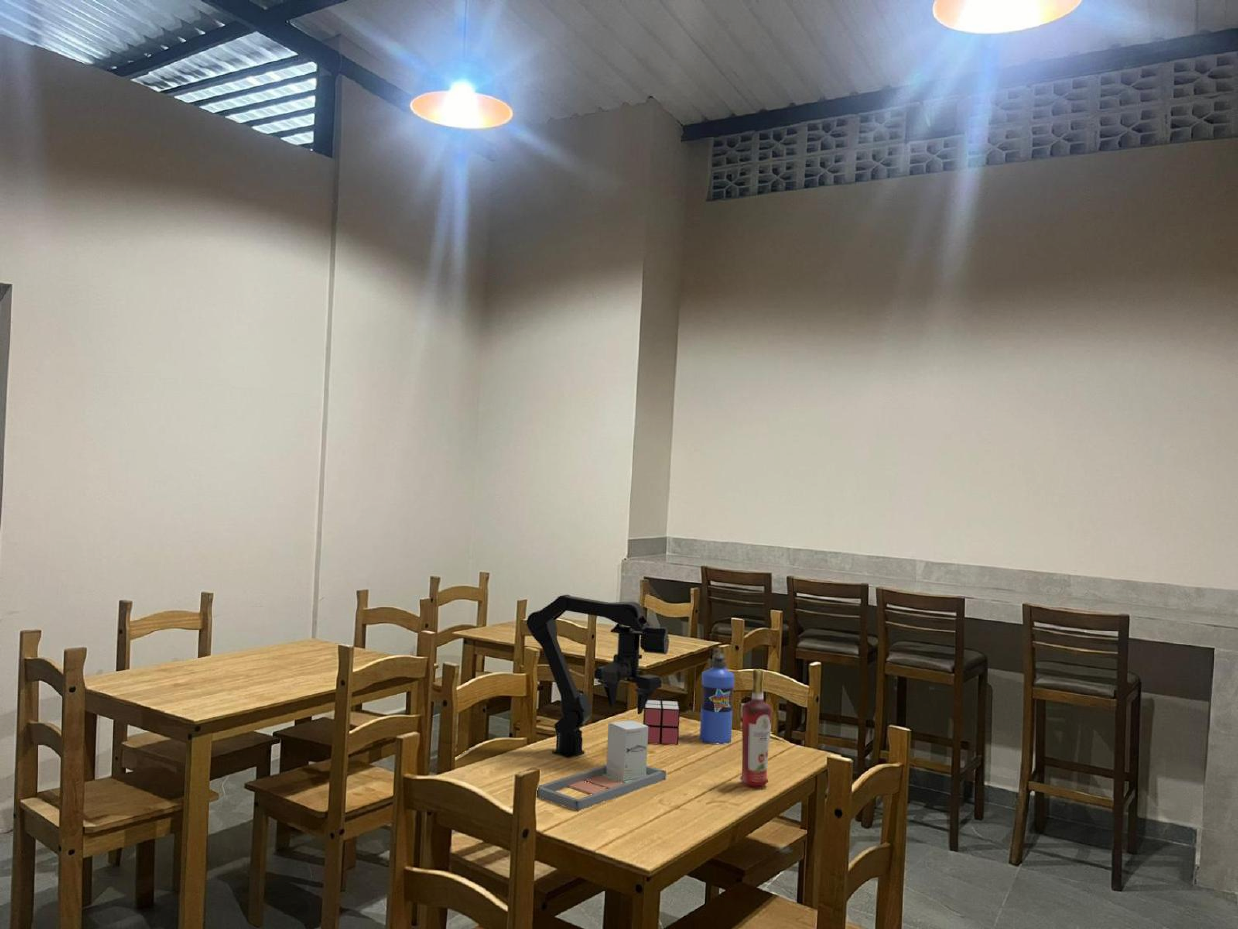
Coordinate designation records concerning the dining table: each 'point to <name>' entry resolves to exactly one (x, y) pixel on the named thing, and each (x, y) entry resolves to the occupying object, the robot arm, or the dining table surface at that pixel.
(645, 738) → the supplement box
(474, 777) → the dining table surface
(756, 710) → the liquor
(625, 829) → the dining table surface
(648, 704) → the puzzle cube
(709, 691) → the water bottle
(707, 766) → the dining table surface
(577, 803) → the shallow tray
